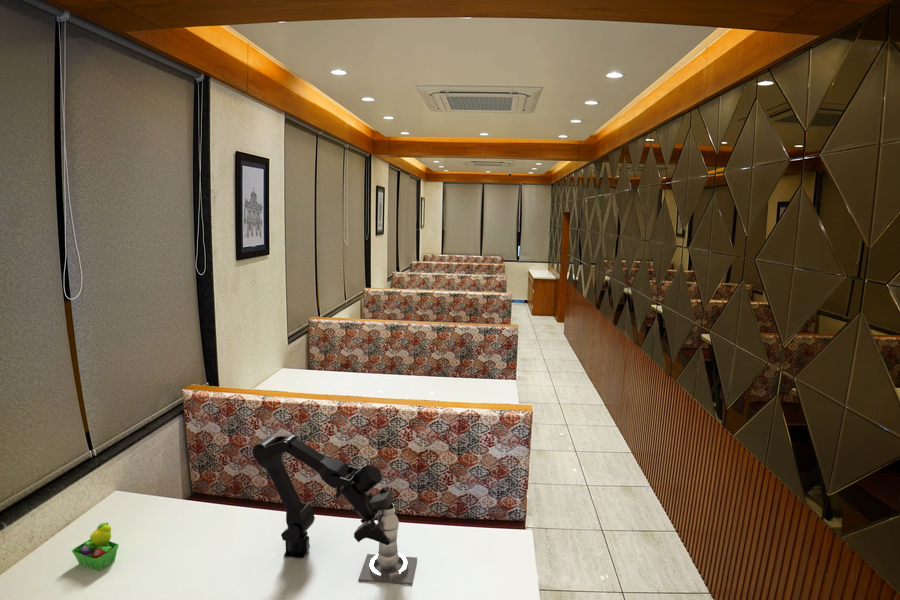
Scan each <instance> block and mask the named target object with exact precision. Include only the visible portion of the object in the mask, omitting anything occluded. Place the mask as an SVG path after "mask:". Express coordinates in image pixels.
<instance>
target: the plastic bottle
mask: <svg viewBox="0 0 900 600" xmlns="http://www.w3.org/2000/svg"><path fill="white" fill-rule="evenodd" d="M395 511H396V510H395V505H394V504H393V503H391V504H390V507H389V508H388V509H386V510H384V509H383V510H382V514H381V515H380V517H379V518H378V521H377V520H376V521H377V523H376V524H378V523H379V522H380V529H381V531H382V532H383V533H384V535H385V536H386V537H387V539H388V540H389V542H390V544H389V545H385V544H383V543H380V542H378V544H379V545H378V551H377V554H378V556H377V560H378V564H379V566H380V567H381V568H383V569H386V570H389V569H393V568H394V567H396V565H397V564H398V560H399V555H398V553H399V550H398V533H399V532H398V531H399V525H400V520H399V518H398V515H396V514H395Z"/></svg>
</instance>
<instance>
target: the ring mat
mask: <svg viewBox="0 0 900 600" xmlns="http://www.w3.org/2000/svg"><path fill="white" fill-rule="evenodd" d="M376 555H377V554H370V553H367V554H366V557H365V560H364V561H363V562H364V563H363V565H362V568H361V571H360V573H359V576H358V582H365V583H367V582H369V583H381V584H393V585H394V584H395V585H406V584H408V585H407V586H409V584H410V586H412V584H413V580H414V574H415V572H416V571H415V570H416V565H417V560H418V558H417V557H414V556H404V557H405V558H406V560H407V570H406V573H405V574H404V575H403V576H401V577H400V578H398V579H395V580H392V581H390V580H389V574H391V573H395V572H398V571H399V570H400V569H401V568H402V567H403V564H402V562H401V561H399V560H398V564H397V565H396V567H394V568H393V569H389V570H386V569H383V568H381V567H380V566H379V564H378V562H377V563H376V564H375V565H374V568H375V570H376V571H378V572H380V573H382V579H381V580H379V579H377V578H375V577H373V576H372V574H371V572H370V563H371V560H372V558H374V557H375V556H376Z"/></svg>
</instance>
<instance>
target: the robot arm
mask: <svg viewBox="0 0 900 600" xmlns="http://www.w3.org/2000/svg"><path fill="white" fill-rule="evenodd" d="M251 451H252V456H253V458H254V459H255V461H256V462H257V464H258V465H259V466H260V467H262V468H264V469H265V470H266V471H267V473H268V476H269V477H270V479H271V481H272V484H273V486H274V487H275V489H276V492H277V494H278V495H279V498H280V500H281V502H282V505H283V506H284V508H285V512H286V513H285V522H286V526H287V527H286V528H285V530H283V531H282V533H281V534H280V536H281V539H282V541H284V542H285V552H284V554H283V557H285V558H298V559H303V558H304V557H305V556H306V554H307V553H308V552H309V549H310V547H311V544H310V536H308V530H309V528H311V526H312V525H313V524H314V522H315V519H316V517H315V514H316V513H315V512H314V511H313V508H312V505H311V504H310V503H306V504H305V502H303V501H301V499H300V497H299V495H298V492H297V491H296V489H295V486H294V484H293V482H292V480H291V477H290V476H289V474H288V472H287V471H288V470H287V469H286V467H285V465H284V464H283V454H284V453H288V454H289V455H291V456H292V457H293V458H295V459H296V460H298V461H299V462H301V463H303V464H305V465H306V466H307V467H308V468H311V469H312V470H314V471H315V472H317V473H318V475H319V476H320V478H321V480H322V481H323V482H324V483H325V484H326V485H328V486H329V488H332V489H336V490H335V491H336V492H335V498H336V499H338V498H339V497H340V496H343V498H344V499H345V500H346V501H347V502H348V504H350V506H351V507H352V510H351V512H352V513H353V514H355V513H357V514H358V515H359V517H361V520H360V523H362V524H360V525H359V526H358V527H357V529H356V530H355V531H354V533H353V538H354V539H355V541H356V542H357V543H360V542H361V541H362V540H364V539H370V540H373V541H376V542H378V543H379V542H380V543H383V544H385V545H389V544H390V542H389V540H388V539H387V537H386V536H385V535H384V533H383V532H382V531H381V529H380V522H379V523H378V524H377V523H376V522H375V521H378V518H379V517H380V515H381V514H382V510H383V509H384V510H386V509H388V508H389V507H390V504H393V502H394V498H393V497H392V496H393V492H391V490H390V489H389V488H388V487H387V486H383V487H382V488H381V489H380V490H379V491H380V492H379V493H378V494H377V495H374V494H373V493H372V492H370V491H371V490H372V489H374V488H375V487H376V486H377V485H378V484H380V483H381V482H382V480H383V476H382V473H381V470H380V469H379V468H378V467H375V466H374V465H370V464H369V463H365V464H364V465H363V466H362V467H361V468H359V467H355V466H352V465H348V463H346V462H344V461H342V460H340V459H337V458H331V457H330V458H329V457H327V456H325V455H324V454H322V453H321V452H318V451H317V450H316V449H314V448H313V447H310V445H308V444H306V443H305V442H303V441H302V440H299V438H297V436H296V435H294V434H290V435H289V434H288V435H279V436H275V437H274V436H271V435H269V436H266V437H265V438H263V439H262V440H261V441H259V442H258V443H257V444H255V445H254V446H253V447H252V450H251ZM368 492H369V493H368Z"/></svg>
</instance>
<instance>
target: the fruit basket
mask: <svg viewBox="0 0 900 600" xmlns="http://www.w3.org/2000/svg"><path fill="white" fill-rule="evenodd" d="M111 531H112V527H111V525H110V524H109V522H101V523H99V524H98V526H97V528H96V529H95V530H94V531H93V532H92V533H91V534H90V537H89V539H88V540H86V541H85V542H82V543H81V544H78V545H77V546H76V547H74V548H73V549H72V550H71V552H72V554H73V555H74V556H75V558H76V561H77V562H78V564H79V565H82V566H84V567H87V568H91V569H94V570H96V571H101V570H103V569H104V568H106V567H108V566H109V565H111V563H114V562H115V560H116V557H117V554H118V553H117V552H118V549H119V543H116V542H114V541H110V540H111V538H112V532H111Z"/></svg>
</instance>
